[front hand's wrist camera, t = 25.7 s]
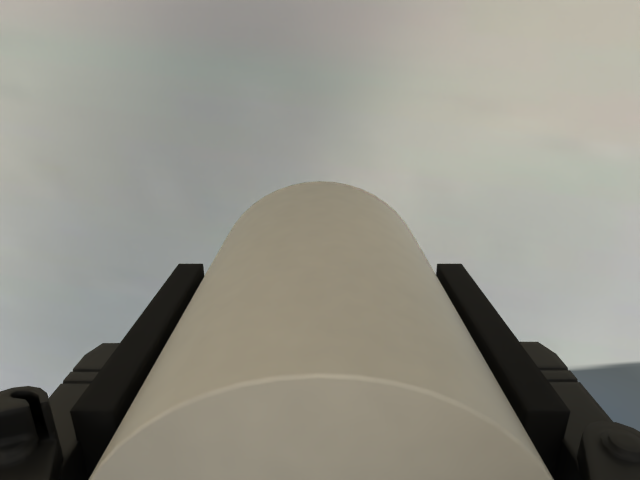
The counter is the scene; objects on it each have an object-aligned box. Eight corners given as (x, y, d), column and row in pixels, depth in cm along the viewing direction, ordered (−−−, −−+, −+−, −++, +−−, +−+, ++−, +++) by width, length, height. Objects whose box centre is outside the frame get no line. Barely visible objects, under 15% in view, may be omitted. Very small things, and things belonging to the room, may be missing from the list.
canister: (224, 168, 15) (45, 345, 5) (441, 194, 15) (653, 407, 5) (215, 354, 17) (84, 704, 8) (401, 373, 18) (498, 733, 8)
